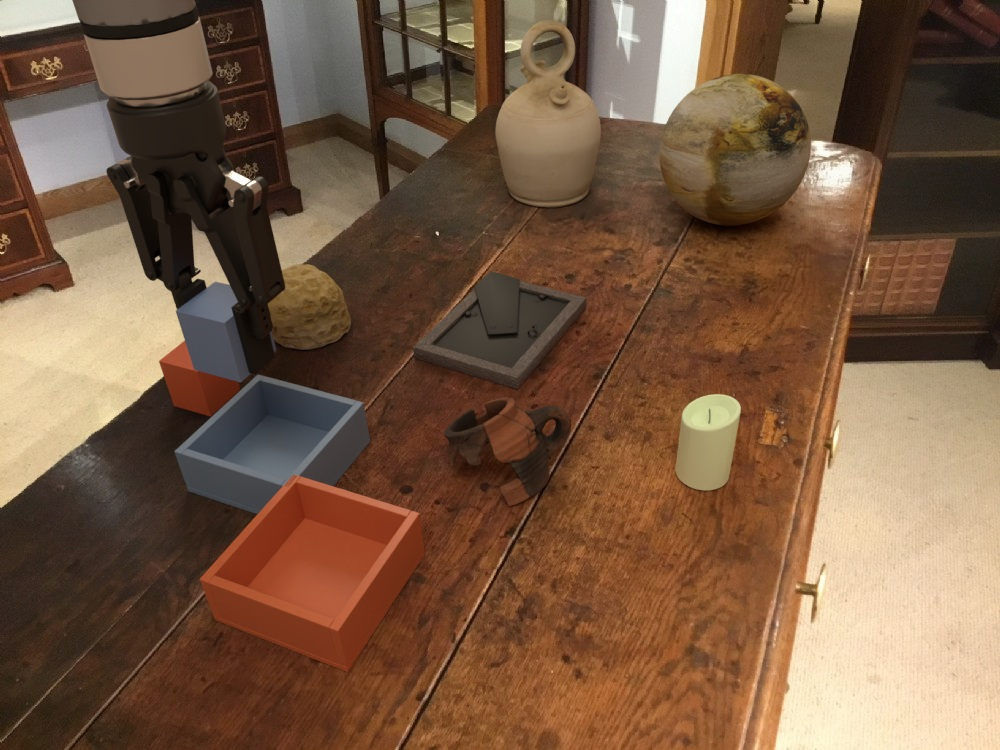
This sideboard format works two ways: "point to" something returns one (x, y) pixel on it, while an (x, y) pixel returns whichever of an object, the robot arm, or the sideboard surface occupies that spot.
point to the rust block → (194, 384)
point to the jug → (548, 130)
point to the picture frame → (501, 330)
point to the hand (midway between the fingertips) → (235, 357)
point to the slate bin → (272, 443)
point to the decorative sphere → (735, 149)
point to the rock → (308, 309)
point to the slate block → (214, 333)
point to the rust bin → (316, 570)
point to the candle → (707, 441)
